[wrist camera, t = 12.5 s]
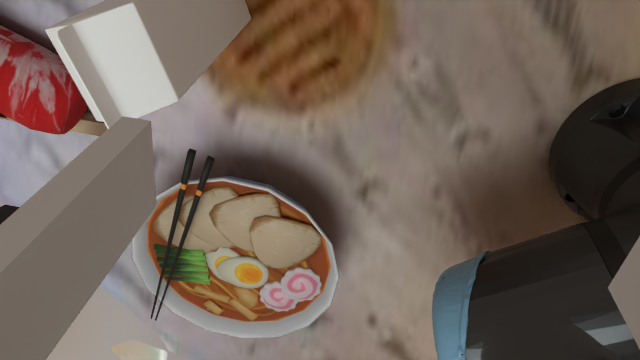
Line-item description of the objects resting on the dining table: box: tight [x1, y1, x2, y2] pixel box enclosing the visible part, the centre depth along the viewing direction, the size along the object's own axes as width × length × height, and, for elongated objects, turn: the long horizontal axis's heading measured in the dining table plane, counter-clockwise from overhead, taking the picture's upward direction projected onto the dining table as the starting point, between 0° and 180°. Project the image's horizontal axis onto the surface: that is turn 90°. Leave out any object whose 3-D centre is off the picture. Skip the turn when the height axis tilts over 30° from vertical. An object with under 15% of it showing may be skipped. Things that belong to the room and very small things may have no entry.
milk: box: [45, 0, 251, 129], centre depth 35 cm, size 6×6×22 cm
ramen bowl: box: [132, 149, 339, 338], centre depth 55 cm, size 25×23×8 cm
